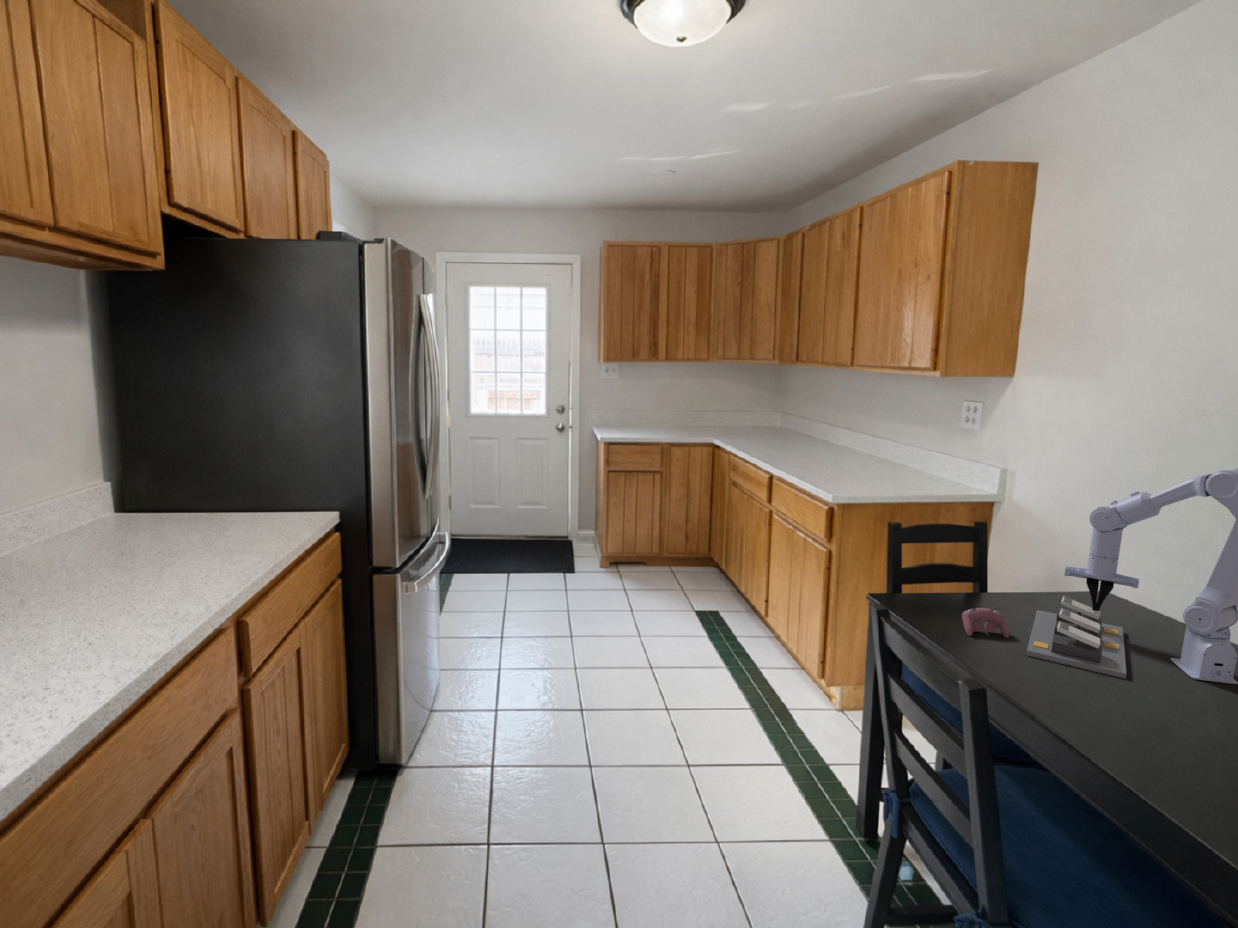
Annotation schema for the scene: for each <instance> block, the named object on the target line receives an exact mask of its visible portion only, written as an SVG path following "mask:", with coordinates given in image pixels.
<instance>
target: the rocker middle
mask: <svg viewBox="0 0 1238 928" xmlns="http://www.w3.org/2000/svg"><path fill="white" fill-rule="evenodd" d="M1068 610H1069V609H1066V608H1061V611H1060V615H1059V617H1060V618H1063V619H1065V620H1068V621H1070V622H1072V623H1075V624H1077V625H1079V626H1082V627H1084V628H1087V629H1089V630H1091V631H1094V632H1096V633H1099V631H1100V624H1099V623H1096V622H1094V621H1092V620H1089V619H1087V618H1084V617H1082V616H1079V615H1077V614H1075V613H1072V612H1070V611H1068Z"/></svg>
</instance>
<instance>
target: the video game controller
mask: <svg viewBox="0 0 1238 928" xmlns="http://www.w3.org/2000/svg"><path fill="white" fill-rule="evenodd" d="M961 620H962V623H963V627H964V631H965V632H966V634H967V635H968V636H969V637H972V635H973V634H974V633H975V632H976V633H977V632H981V631H982V630H983V626H982V623H981V622H980V621H985V622H986V623H985V624H984V630H985V631H986V633H990V634H991V633H994V632H995V631H996V630H997V629H999V631H1000V632H1001V635H1002V637H1004V638H1005V639H1008V638H1009V637H1010V629H1009V626H1008V623H1007V621H1006V618H1005V616H1004V615H1003V614H1002V613H1001V612H1000V611H999V610H995V609H992V608H991V609H990V608H987V607H974V608H968V609H967V610H964V611H963V612H962V613H961Z"/></svg>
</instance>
